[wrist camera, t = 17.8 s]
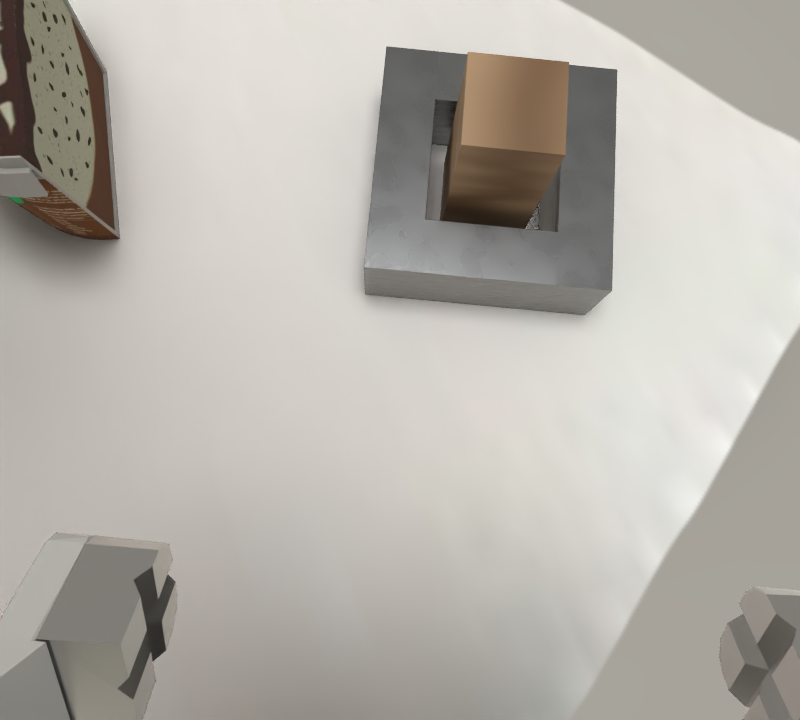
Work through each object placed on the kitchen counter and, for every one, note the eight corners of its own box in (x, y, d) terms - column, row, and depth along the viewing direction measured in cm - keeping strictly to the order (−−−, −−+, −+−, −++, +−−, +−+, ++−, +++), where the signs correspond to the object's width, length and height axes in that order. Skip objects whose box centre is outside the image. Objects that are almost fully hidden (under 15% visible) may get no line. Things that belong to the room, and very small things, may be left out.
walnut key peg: (438, 235, 35) (461, 144, 26) (444, 163, 36) (468, 51, 27) (516, 242, 35) (565, 155, 26) (520, 170, 36) (569, 62, 27)
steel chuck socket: (365, 294, 34) (364, 267, 30) (385, 95, 37) (386, 46, 33) (584, 314, 34) (612, 290, 31) (591, 116, 37) (617, 69, 33)
